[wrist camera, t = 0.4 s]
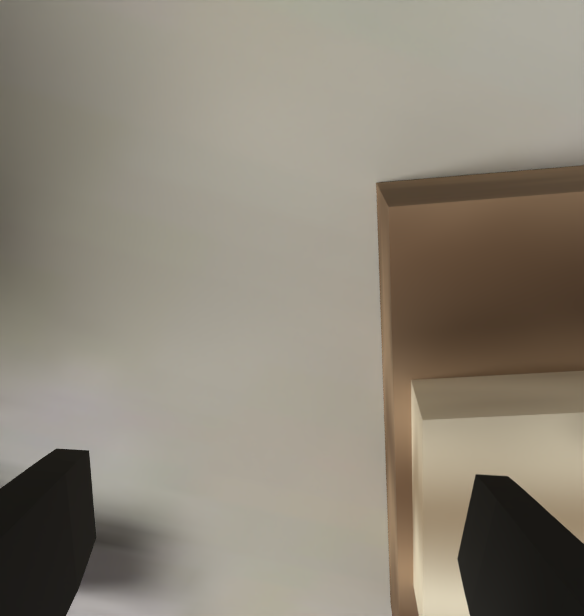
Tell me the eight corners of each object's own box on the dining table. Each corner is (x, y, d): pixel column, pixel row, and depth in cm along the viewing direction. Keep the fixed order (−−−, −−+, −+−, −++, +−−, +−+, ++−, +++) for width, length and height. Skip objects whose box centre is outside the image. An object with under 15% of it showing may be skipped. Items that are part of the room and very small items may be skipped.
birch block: (661, 580, 18) (700, 637, 16) (413, 585, 19) (423, 641, 17) (709, 363, 15) (762, 404, 13) (410, 379, 16) (422, 420, 14)
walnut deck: (632, 597, 23) (683, 681, 20) (390, 601, 24) (401, 683, 21) (718, 154, 16) (817, 172, 13) (376, 182, 17) (388, 206, 14)
